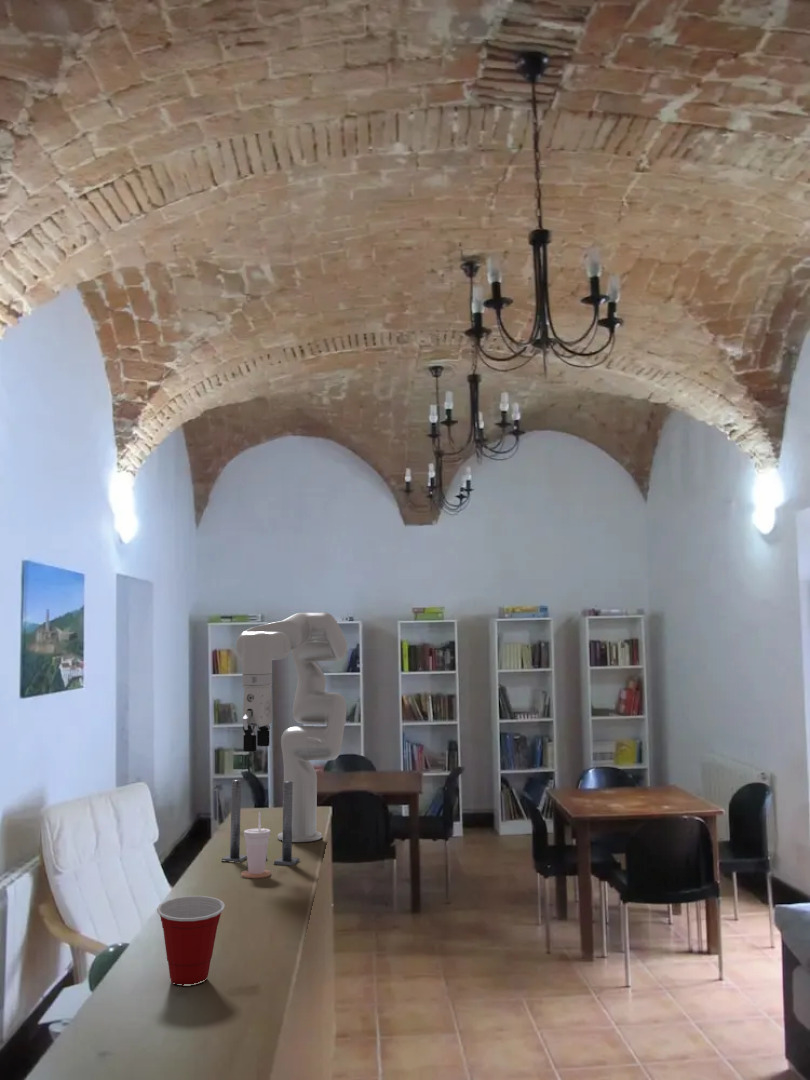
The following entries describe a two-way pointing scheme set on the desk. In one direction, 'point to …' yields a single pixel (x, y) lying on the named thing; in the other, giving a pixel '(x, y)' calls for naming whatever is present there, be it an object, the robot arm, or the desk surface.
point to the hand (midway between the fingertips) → (256, 748)
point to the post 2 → (287, 827)
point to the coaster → (256, 876)
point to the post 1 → (235, 824)
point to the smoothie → (256, 847)
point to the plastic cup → (190, 936)
